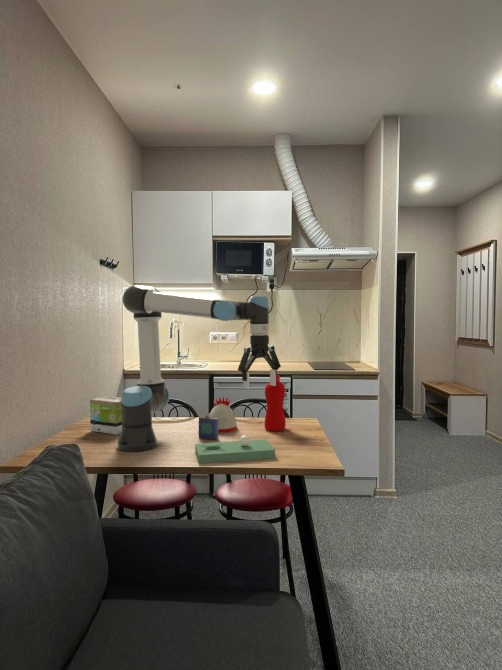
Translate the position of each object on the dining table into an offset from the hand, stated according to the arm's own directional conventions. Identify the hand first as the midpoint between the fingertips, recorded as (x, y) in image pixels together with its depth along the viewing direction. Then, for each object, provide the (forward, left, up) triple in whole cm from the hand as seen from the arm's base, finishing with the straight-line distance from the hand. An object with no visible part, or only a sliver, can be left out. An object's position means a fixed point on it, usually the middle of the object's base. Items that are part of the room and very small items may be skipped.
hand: (260, 387), depth 179 cm
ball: (-9, -11, -18) cm, 23 cm away
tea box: (-62, +36, -24) cm, 75 cm away
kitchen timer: (-12, +28, -24) cm, 38 cm away
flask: (-20, +13, -24) cm, 33 cm away
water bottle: (+12, +22, -23) cm, 34 cm away
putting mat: (-13, -11, -23) cm, 29 cm away
